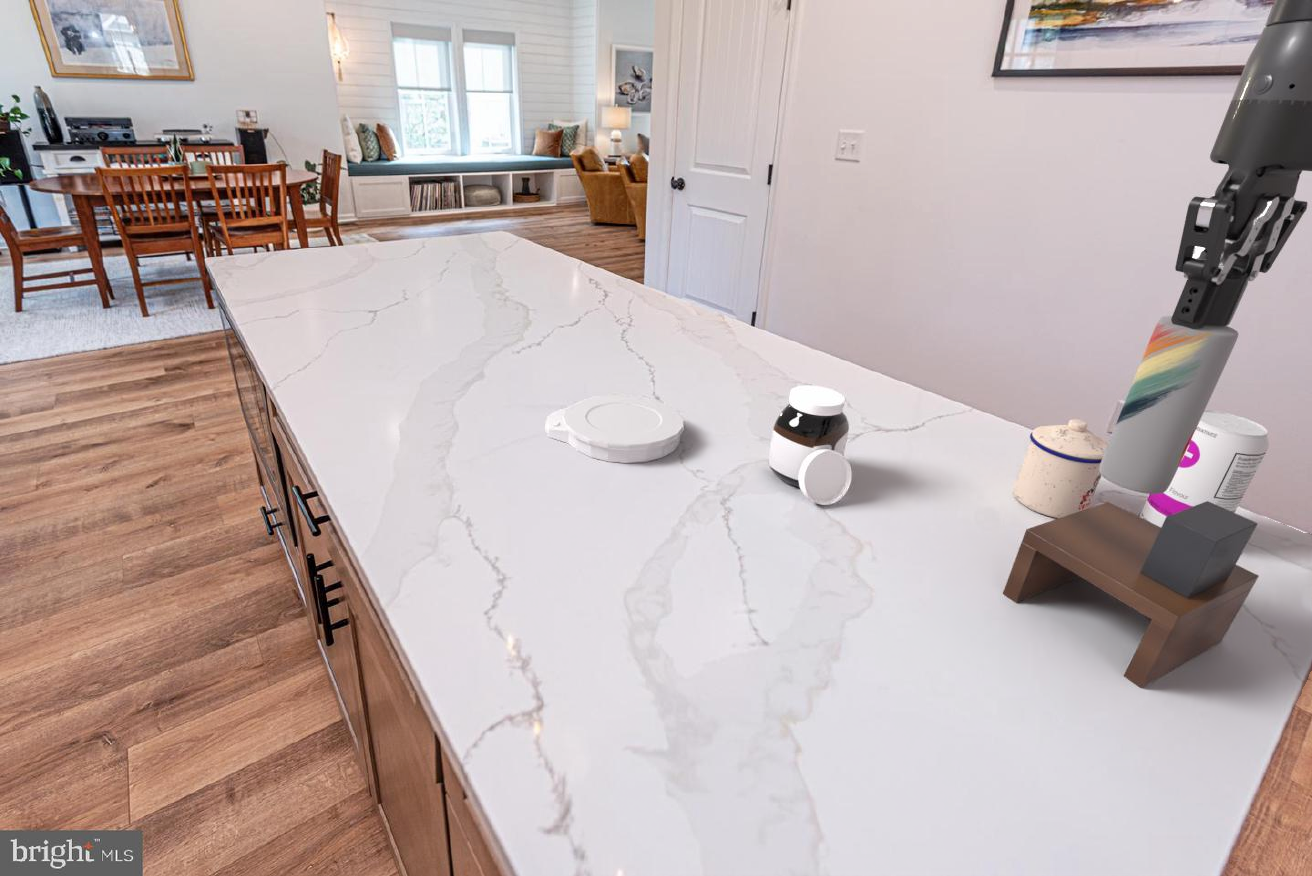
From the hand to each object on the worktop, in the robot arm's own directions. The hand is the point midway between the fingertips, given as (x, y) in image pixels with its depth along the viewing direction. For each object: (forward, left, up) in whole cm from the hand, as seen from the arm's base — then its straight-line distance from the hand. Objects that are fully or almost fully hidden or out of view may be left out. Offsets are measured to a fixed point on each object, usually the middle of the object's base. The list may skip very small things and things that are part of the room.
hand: (1199, 323), depth 57 cm
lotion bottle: (0, 0, -15) cm, 15 cm away
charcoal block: (0, +7, -22) cm, 23 cm away
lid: (+29, -52, -30) cm, 67 cm away
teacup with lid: (-17, -15, -30) cm, 37 cm away
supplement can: (-25, -3, -30) cm, 39 cm away
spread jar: (+11, -30, -30) cm, 44 cm away
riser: (0, +3, -30) cm, 30 cm away
